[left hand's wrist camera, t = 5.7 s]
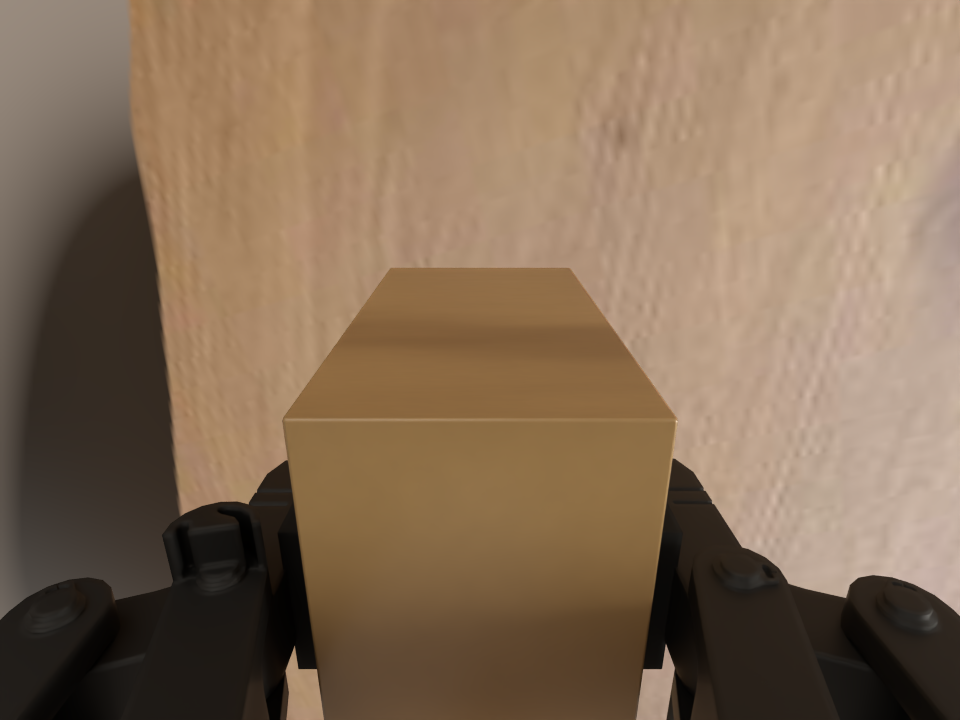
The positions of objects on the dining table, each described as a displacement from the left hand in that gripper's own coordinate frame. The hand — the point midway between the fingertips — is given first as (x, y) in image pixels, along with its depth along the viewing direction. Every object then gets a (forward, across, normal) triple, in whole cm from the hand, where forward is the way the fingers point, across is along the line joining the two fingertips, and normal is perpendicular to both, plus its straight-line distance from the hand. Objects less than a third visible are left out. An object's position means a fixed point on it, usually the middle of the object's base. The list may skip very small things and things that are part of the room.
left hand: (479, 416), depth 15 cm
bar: (+1, 0, -9) cm, 9 cm away
